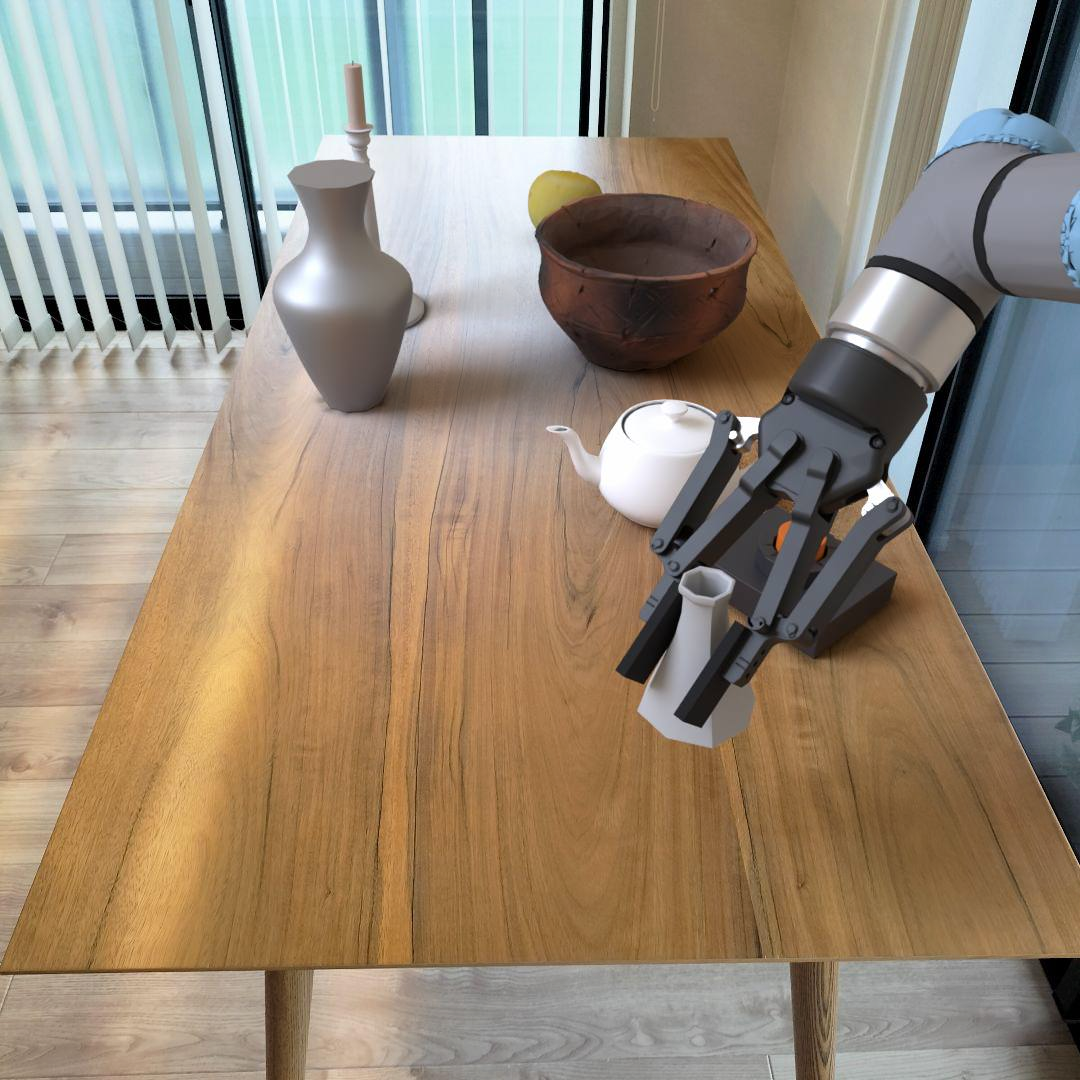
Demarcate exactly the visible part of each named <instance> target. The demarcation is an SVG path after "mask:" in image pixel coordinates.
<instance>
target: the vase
mask: <svg viewBox="0 0 1080 1080" xmlns="http://www.w3.org/2000/svg"><path fill="white" fill-rule="evenodd" d="M375 174H376V171H375V169H373V168H372V167H371V166H370V167H369V166H368V165H367V164H366V163H361V162H355V161H351V160H349V159H344V158H342V159H341V158H340V159H339V158H338V159H321V160H320V159H319V160H314V161H310V162H305V163H303V164H300V165H296V166H294V167H293V169H292V170H290V172H289V173H288V174H287V175H286V178H288V180H289V182H290V184H291V185H292V187H293V189H294V191H295V193H296V195H297V197H298V199H299V201H300V204H301V205H302V208H303V210H304V213H305V215H306V219H307V224H308V233H307V238H306V241H305V244H304V246H303V248H302V250H301V252H299V254H297V255H295V257H293V258H292V259H291V260H290V261H288V262H287V263H286V264H285V265H284V266H283V267H282V268H281V269H280V270H279V272H278V273H277V274H276V276H275V278H274V280H273V283H272V290H271V293H272V300H273V304H274V308H275V310H276V312H277V315H278V317H279V319H280V321H281V324H282V325H283V328H284V330H285V332H286V334H287V336H288V338H289V341H290V343H291V344H292V347H293V348H294V351H295V352H296V355H297V357H298V358H299V361H300V363H301V364H302V366H303V368H304V369H305V372H306V373H307V375H308V377H309V378H310V380H311V382H312V383H313V385H314V386H315V388H316V390H317V392H318V393H319V395H320V396H321V397H322V399H323V401H324V402H325V403H326V404H327V406H328V407H329V408H330V409H334V410H337V411H341V412H345V413H350V412H351V413H352V412H353V413H354V412H363V411H367V410H369V409H371V408H374V407H376V406H377V405H380V404H382V401H383V398H384V396H385V394H386V391H387V389H388V386H389V384H390V382H391V379H392V376H393V373H394V370H395V368H396V364H397V362H398V358H399V355H400V352H401V348H402V344H403V341H404V337H405V332H406V329H407V328H406V325H407V321H408V317H409V313H410V308H411V304H412V297H413V293H414V287H413V285H414V284H413V280H412V277H411V274H410V272H409V271H408V269H407V268H406V267H405V266H404V265H403V264H402V263H401V262H400V261H398V259H396V258H394V257H393V256H391V255H390V254H388V253H386V252H385V251H383V250H382V249H381V250H379V249H378V248H377V247H376V246H375V245H374V244H373V243H372V241H371V239H370V238H369V236H368V234H367V231H366V228H365V223H364V213H365V206H366V201H367V197H368V193H369V189H370V186H371V183H372V184H373V179H374V176H375Z"/></svg>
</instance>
